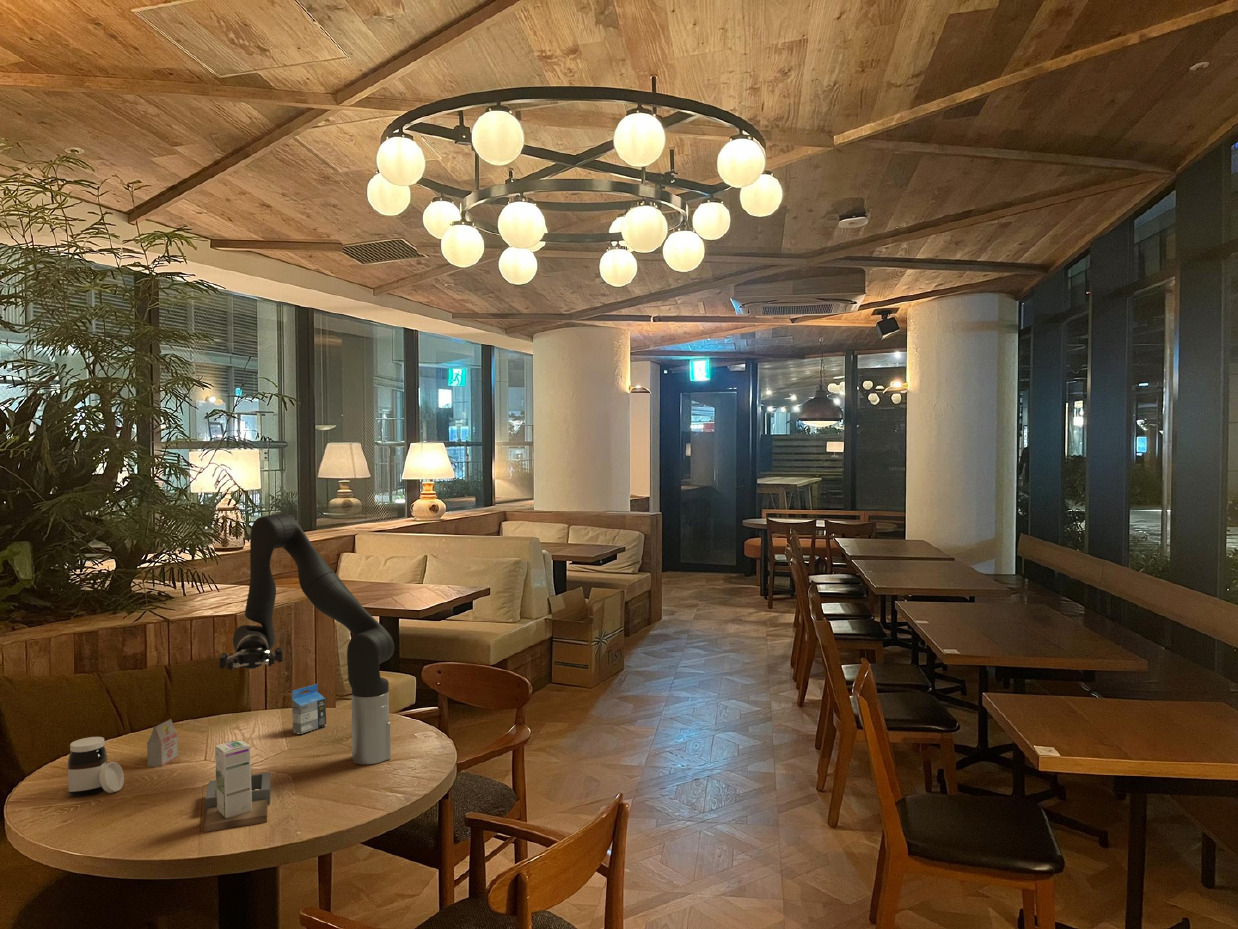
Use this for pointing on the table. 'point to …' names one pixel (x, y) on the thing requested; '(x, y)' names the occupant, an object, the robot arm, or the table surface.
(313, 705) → the label tape box
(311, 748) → the table surface
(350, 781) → the table surface
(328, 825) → the table surface
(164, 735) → the white gable top carton
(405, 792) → the table surface
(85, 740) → the spread jar
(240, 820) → the walnut pad
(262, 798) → the gray open storage bin
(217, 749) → the syrup box
